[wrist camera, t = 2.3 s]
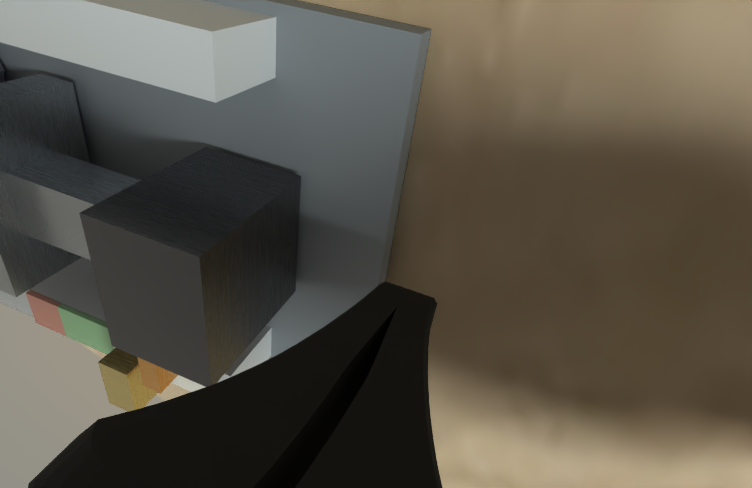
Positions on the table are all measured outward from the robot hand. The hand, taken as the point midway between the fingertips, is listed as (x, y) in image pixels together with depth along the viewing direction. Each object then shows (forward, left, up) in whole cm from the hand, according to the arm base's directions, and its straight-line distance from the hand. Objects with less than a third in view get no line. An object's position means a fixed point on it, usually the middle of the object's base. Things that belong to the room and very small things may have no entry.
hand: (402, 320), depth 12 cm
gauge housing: (+9, 0, -3) cm, 9 cm away
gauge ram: (+8, +1, -2) cm, 8 cm away
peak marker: (+7, +4, +1) cm, 9 cm away
